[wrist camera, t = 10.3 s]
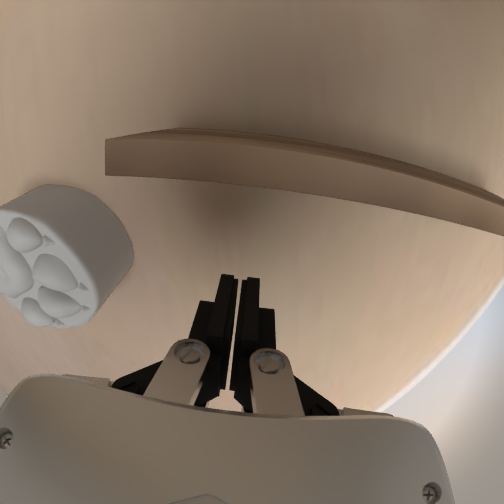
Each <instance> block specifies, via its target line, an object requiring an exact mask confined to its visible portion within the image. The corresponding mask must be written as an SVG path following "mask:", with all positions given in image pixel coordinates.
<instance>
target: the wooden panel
mask: <svg viewBox="0 0 504 504" xmlns="http://www.w3.org/2000/svg"><path fill="white" fill-rule="evenodd" d="M105 175H107V176H134V177H154V178H169V179H183V180H196V181H207V182H218V183H228V184H237V185H246V186H255V187H263V188H271V189H279V190H286V191H293V192H300V193H307V194H313V195H320V196H326V197H332V198H338V199H344V200H350V201H355V202H361V203H366V204H372V205H377V206H382V207H387V208H392V209H397V210H401V211H406V212H411V213H415V214H420V215H424V216H429V217H433V218H437V219H441V220H445V221H449V222H453V223H457V224H461V225H465V226H469V227H473V228H476V229H480V230H484V231H487V232H491V233H494V234H498V235H501V236H504V199H503V198H501V197H499V196H497V195H495V194H493V193H491V192H489V191H487V190H484V189H482V188H479V187H477V186H474V185H472V184H469V183H466V182H464V181H461V180H458V179H455V178H452V177H449V176H447V175H444V174H441V173H438V172H434V171H431V170H428V169H425V168H422V167H418V166H415V165H412V164H408V163H405V162H401V161H397V160H394V159H390V158H386V157H382V156H378V155H374V154H370V153H366V152H361V151H357V150H352V149H348V148H343V147H338V146H333V145H328V144H323V143H317V142H311V141H306V140H299V139H293V138H286V137H279V136H272V135H264V134H255V133H246V132H236V131H225V130H211V129H194V128H174V129H166V130H159V131H152V132H145V133H139V134H133V135H127V136H122V137H116V138H111V139H106V140H105Z"/></svg>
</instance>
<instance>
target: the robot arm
mask: <svg viewBox="0 0 504 504" xmlns="http://www.w3.org/2000/svg"><path fill="white" fill-rule="evenodd" d="M237 288H238V279H234V275H227V274H222V275H221V278H220V282H219V286H218V290H217V294H216V298H215V302H209V301H200V303H199V306H198V309H197V312H196V315H195V318H194V321H193V325H192V328H191V331H190V334H189V337H188V339H183V340H179V341H178V342H176V343H174V344H173V346H172V347H171V348H170V350H169V352H168V353H167V355H166V357H165V358H164V360H162V361H160V362H157V363H155V364H153V365H150V366H148V367H145V368H143V369H141V370H138V371H136V372H133V373H131V374H128V375H126V376H123V377H121V378H119V379H117V380H116V381H115V382H113V381H110V379H108V378H96V377H86V376H77V375H69V374H65V375H55V374H40V375H33V376H29V377H27V378H25V379H24V380H22V381H21V382H20V383H19V384H18V385H17V386H16V387H15V388H14V389H13V390H12V392H11V393H10V394H9V395H8V397H7V398H6V400H5V401H4V403H3V404H2V406H1V408H0V504H455V503H454V498H453V493H452V489H451V485H450V481H449V478H448V474H447V471H446V468H445V465H444V461H443V459H442V456H441V454H440V451H439V448H438V446H437V444H436V442H435V440H434V438H433V437H432V435H431V434H430V432H429V431H428V430H427V429H426V428H425V427H424V426H422V425H421V424H419V423H416V422H414V421H411V420H408V419H403V418H399V417H394V416H393V415H390V414H387V413H379V412H371V411H364V410H357V409H351V408H345V407H344V408H343V410H341V409H337V407H336V406H334V405H333V404H332V403H331V402H330V401H328V400H327V399H325V398H324V397H323V396H321V395H320V394H318V393H317V392H316V391H314V390H313V389H312V388H310V387H309V386H308V385H306V384H305V383H304V382H302V381H301V380H300V379H298V378H297V377H296V376H294V375H293V372H292V368H291V365H290V361H289V359H288V357H287V356H286V355H285V354H284V353H282V352H280V351H279V350H276V336H275V312H274V309H267V308H259V289H260V278H252V277H247V280H242V286H241V294H240V302H239V310H238V317H237V325H236V333H235V342H234V351H233V361H232V370H231V380H230V389H229V390H232V391H235V392H234V398H235V399H236V400H237V401H238V402H239V403H240V404H241V405H242V412H236V411H227V410H219V409H212V408H208V406H209V401H210V400H212V399H214V398H215V397H217V396H219V393H220V389H223V390H225V387H226V380H227V372H228V365H229V357H230V350H231V342H232V335H233V327H234V317H235V307H236V298H237Z"/></svg>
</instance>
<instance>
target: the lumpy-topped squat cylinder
mask: <svg viewBox="0 0 504 504" xmlns="http://www.w3.org/2000/svg"><path fill="white" fill-rule="evenodd" d="M133 258H134V251H133V246H132V242H131V240H130V237H129V235H128V233H127V231H126V230H125V228H124V226H123V224H122V223H121V221H120V220H119V219H118V217H117V216H116V215H115V214H114V213H113V212H112V211H111V210H110V209H109V208H108V207H107V206H106V205H105V204H104V203H103V202H102V201H101V200H99V199H98V198H97V197H96V196H95V195H93V194H91V193H89V192H86V191H83V190H80V189H76V188H72V187H68V186H62V185H43V186H41V187H39V188H36V189H34V190H32V191H30V192H28V193H26V194H24V195H22V196H20V197H17V198H16V199H14V200H12V201H10V202H8V203H6V204H4V205H2V206H0V292H1V293H2V295H3V296H4V297H5V299H6V300H7V301H8V302H9V303H10V304H11V305H12V306H14V307H15V308H16V309H18V310H19V311H21V313H22V316H23V318H24V319H25V320H26V321H27V322H28V323H29V324H31V325H33V326H35V327H39V328H43V327H48V326H52V327H56V328H72V327H77V326H81V325H83V324H85V323H87V322H88V321H89V320H91V319H92V318H93V317H94V315H95V314H96V313H97V312H98V310H99V309H100V308H101V306H102V305H103V304H104V302H105V301H106V300H107V298H108V297H109V296H110V294H111V293H112V292H113V290H114V289H115V288H116V286H117V285H118V284H119V282H120V281H121V280H122V278H123V277H124V276H125V274H126V273H127V272H128V271H129V269H130V268H131V266H132V263H133Z"/></svg>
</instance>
